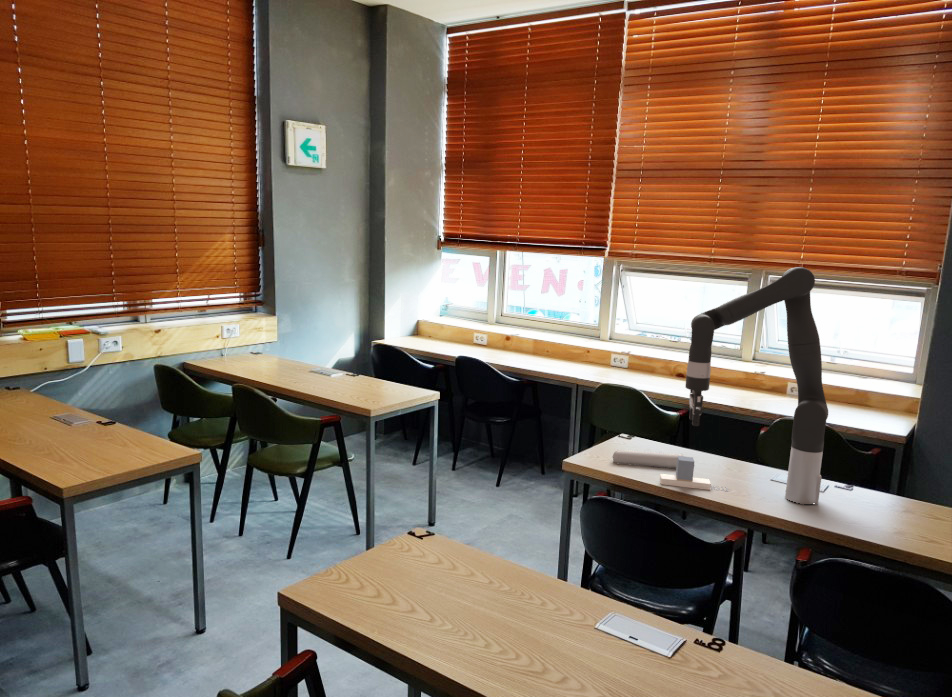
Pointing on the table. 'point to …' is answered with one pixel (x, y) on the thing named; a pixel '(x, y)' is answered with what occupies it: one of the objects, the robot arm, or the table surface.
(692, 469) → the block
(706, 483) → the board
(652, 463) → the tube
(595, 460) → the table surface
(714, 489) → the mark
